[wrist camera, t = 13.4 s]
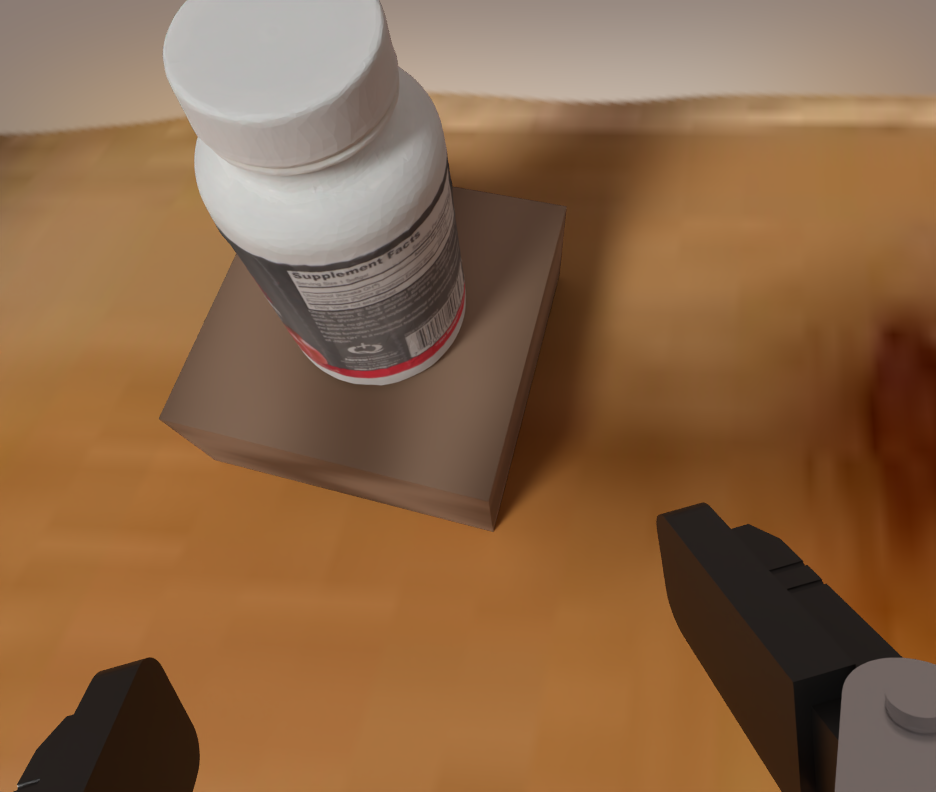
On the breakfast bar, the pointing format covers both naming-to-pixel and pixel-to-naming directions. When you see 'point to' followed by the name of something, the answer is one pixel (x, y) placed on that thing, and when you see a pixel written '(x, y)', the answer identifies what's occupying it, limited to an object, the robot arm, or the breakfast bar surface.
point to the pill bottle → (325, 177)
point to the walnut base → (392, 405)
